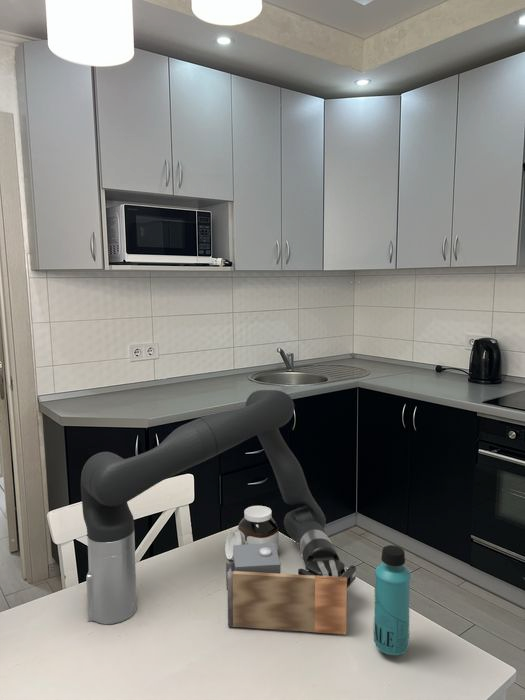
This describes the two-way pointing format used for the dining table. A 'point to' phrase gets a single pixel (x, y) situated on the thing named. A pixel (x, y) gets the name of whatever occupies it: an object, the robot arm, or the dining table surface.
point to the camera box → (254, 559)
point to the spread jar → (253, 530)
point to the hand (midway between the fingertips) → (337, 598)
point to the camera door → (287, 602)
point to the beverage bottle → (392, 602)
